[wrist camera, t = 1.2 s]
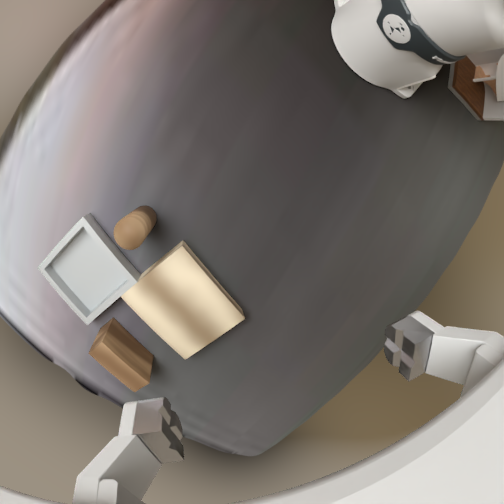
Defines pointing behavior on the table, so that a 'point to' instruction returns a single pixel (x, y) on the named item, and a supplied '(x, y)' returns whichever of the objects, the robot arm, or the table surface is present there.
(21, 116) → the table surface
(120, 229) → the dowel
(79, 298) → the tray
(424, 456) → the robot arm
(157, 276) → the board
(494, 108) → the display case
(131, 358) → the wooden block
